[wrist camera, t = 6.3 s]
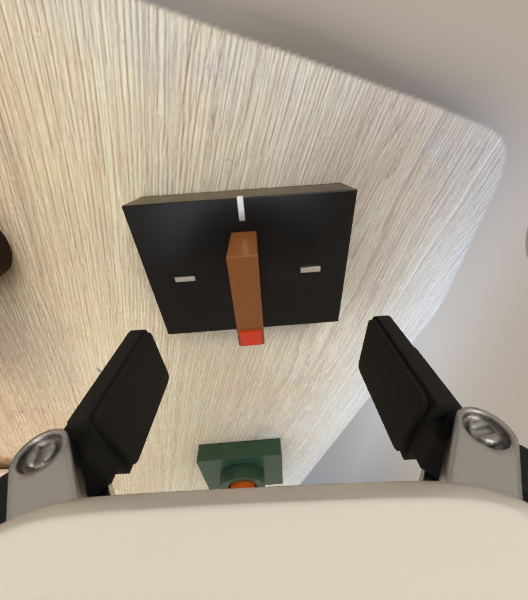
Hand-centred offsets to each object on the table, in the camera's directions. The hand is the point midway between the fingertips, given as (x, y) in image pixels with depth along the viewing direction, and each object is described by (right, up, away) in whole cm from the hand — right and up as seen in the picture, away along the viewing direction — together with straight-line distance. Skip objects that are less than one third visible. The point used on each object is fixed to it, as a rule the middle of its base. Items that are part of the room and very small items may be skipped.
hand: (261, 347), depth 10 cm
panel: (-1, +6, +9) cm, 10 cm away
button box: (-3, -23, +27) cm, 36 cm away
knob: (-1, +4, +6) cm, 7 cm away
